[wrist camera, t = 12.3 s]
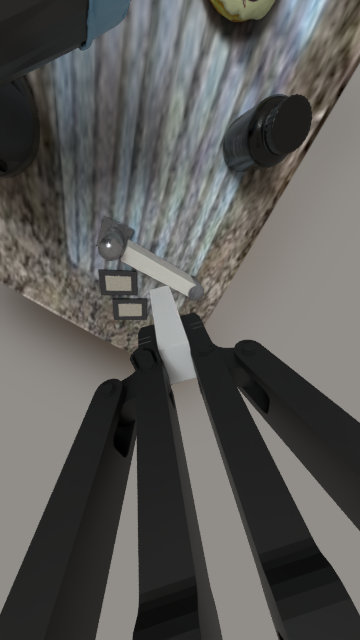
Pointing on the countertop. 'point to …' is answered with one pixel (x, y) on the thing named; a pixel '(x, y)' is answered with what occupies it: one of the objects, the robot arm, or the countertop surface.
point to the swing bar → (161, 270)
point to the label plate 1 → (118, 282)
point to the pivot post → (113, 238)
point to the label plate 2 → (130, 308)
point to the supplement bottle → (267, 132)
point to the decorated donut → (242, 9)
